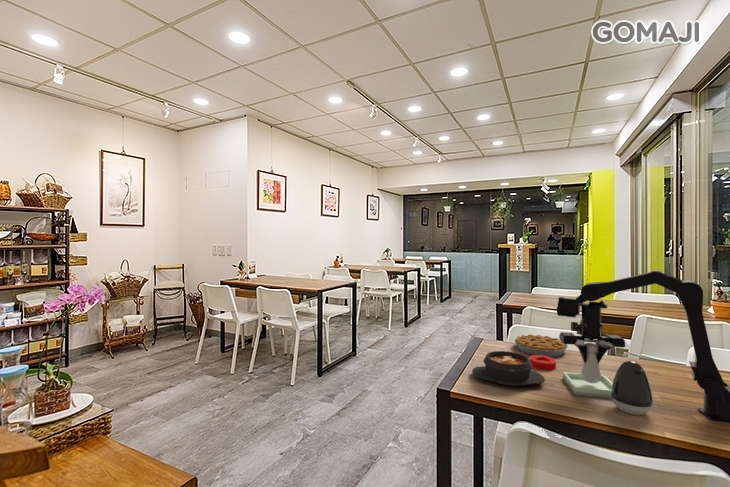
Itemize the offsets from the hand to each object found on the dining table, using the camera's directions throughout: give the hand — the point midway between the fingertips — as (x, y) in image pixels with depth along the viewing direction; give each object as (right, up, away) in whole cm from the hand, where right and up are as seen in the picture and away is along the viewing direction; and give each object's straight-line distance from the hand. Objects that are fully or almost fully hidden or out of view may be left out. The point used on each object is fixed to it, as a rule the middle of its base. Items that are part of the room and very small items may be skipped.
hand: (590, 364), depth 124 cm
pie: (+3, -8, +41) cm, 42 cm away
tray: (0, -8, 0) cm, 8 cm away
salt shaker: (0, -6, 0) cm, 6 cm away
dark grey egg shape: (+2, -9, -16) cm, 18 cm away
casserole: (-26, -9, +8) cm, 29 cm away
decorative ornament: (-6, -8, +21) cm, 24 cm away
